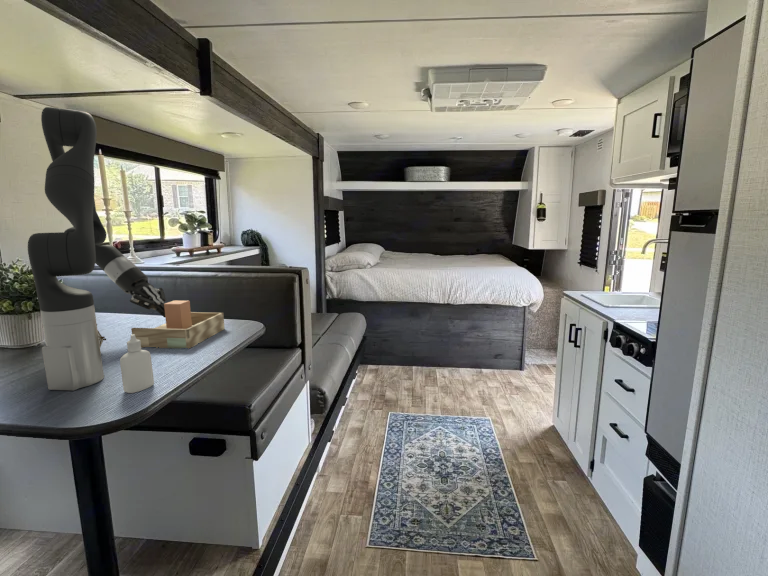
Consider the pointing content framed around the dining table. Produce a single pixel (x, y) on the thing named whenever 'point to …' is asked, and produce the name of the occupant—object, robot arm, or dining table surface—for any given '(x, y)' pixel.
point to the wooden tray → (182, 332)
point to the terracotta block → (178, 314)
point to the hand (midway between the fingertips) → (168, 315)
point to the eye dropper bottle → (136, 367)
